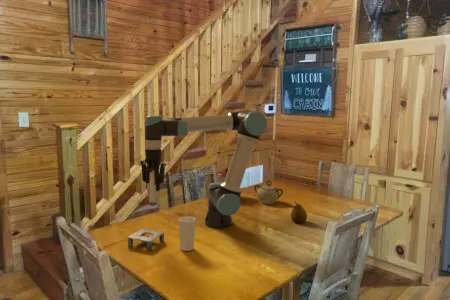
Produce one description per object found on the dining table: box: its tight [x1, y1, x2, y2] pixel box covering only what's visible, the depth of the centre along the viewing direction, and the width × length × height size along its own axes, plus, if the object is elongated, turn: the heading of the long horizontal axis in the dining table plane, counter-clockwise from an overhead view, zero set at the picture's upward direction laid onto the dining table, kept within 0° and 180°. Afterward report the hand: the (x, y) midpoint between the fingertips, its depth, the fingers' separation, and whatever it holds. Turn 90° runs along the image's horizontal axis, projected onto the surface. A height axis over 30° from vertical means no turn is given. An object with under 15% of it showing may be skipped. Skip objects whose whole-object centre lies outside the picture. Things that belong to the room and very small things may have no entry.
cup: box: [178, 215, 197, 252], centre depth 168 cm, size 8×8×14 cm
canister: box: [213, 167, 229, 182], centre depth 253 cm, size 18×18×21 cm
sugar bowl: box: [253, 180, 284, 205], centre depth 243 cm, size 20×15×15 cm
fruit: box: [290, 201, 308, 224], centre depth 207 cm, size 9×9×12 cm
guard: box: [127, 228, 165, 252], centre depth 173 cm, size 12×12×5 cm
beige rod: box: [148, 171, 157, 207], centre depth 176 cm, size 3×3×16 cm
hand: (152, 196), depth 177 cm, fingers closed on beige rod, 3 cm apart
